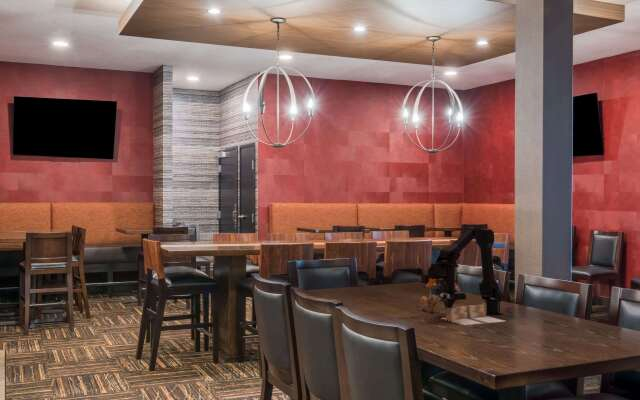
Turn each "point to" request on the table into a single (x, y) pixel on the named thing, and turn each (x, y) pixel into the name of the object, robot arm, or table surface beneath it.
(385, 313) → the table surface
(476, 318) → the board
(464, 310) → the brown tall flat block
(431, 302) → the lion figurine
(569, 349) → the table surface
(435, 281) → the doll family
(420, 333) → the table surface
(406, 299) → the table surface
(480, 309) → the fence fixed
